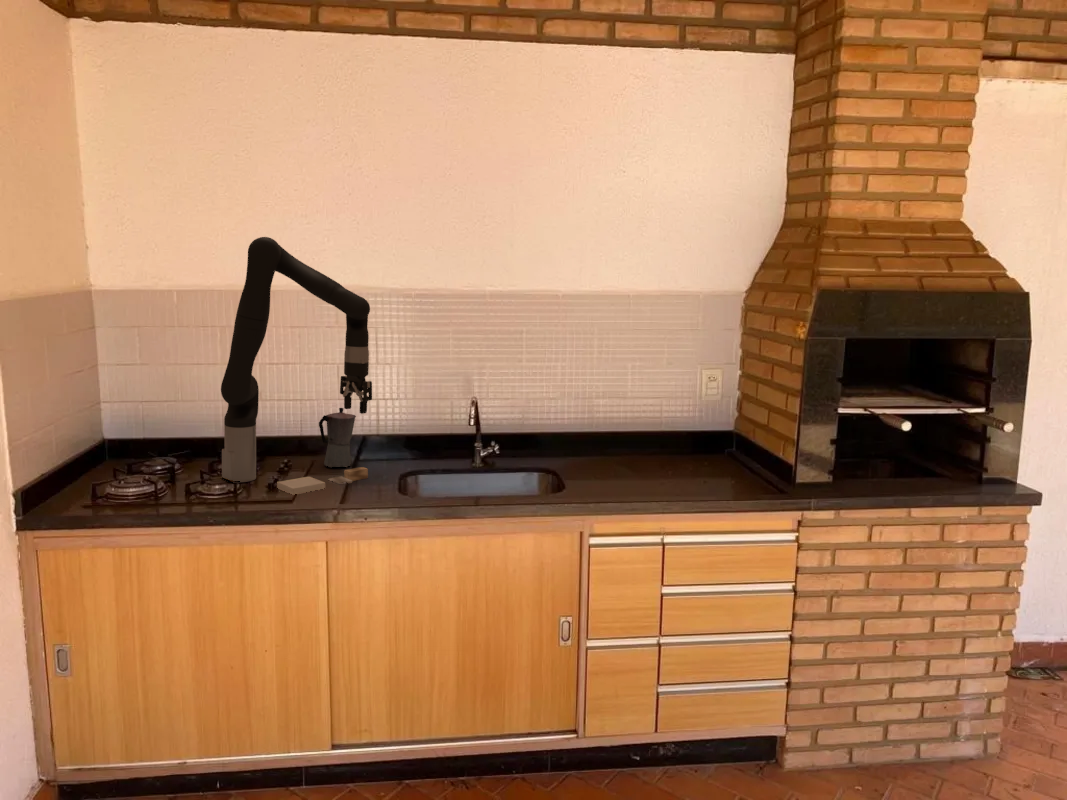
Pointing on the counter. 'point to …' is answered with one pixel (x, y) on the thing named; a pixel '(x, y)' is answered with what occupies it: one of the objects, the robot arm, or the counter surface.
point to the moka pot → (338, 438)
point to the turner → (351, 475)
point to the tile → (300, 485)
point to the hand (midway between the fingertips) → (355, 411)
